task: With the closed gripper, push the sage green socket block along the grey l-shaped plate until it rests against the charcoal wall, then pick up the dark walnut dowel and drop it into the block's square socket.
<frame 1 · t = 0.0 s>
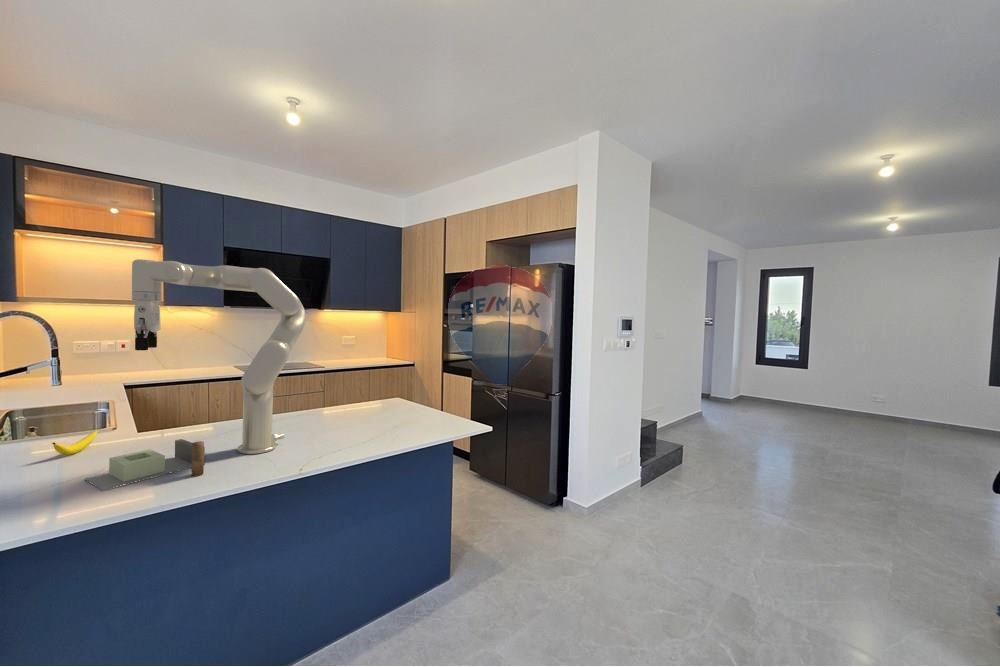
hand: (146, 348, 139), 37 cm above the countertop, tool pointing down, fingers open, 9 cm apart
socket block: (137, 464, 128), point 3 cm above the countertop, slide at 8.0 cm
banana: (76, 452, 144), on the countertop
grey l-shaped plate: (153, 470, 131), on the countertop
dowel: (197, 474, 130), on the countertop
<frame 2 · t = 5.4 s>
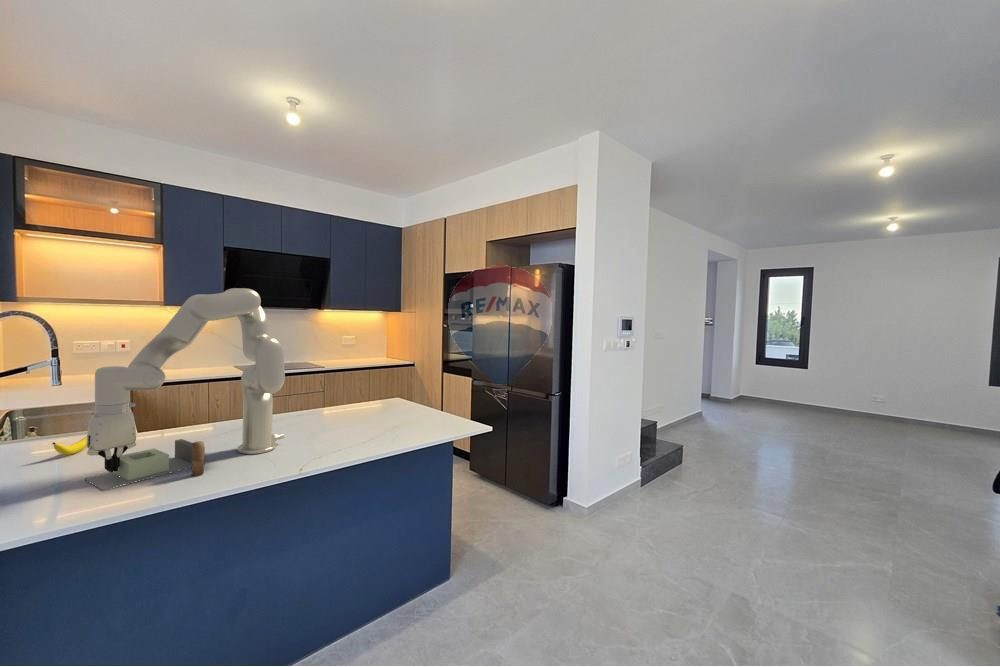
hand: (112, 470, 122), 3 cm above the countertop, tool pointing down, fingers closed
socket block: (142, 463, 129), point 3 cm above the countertop, slide at 6.9 cm, touching gripper
everything else where it was.
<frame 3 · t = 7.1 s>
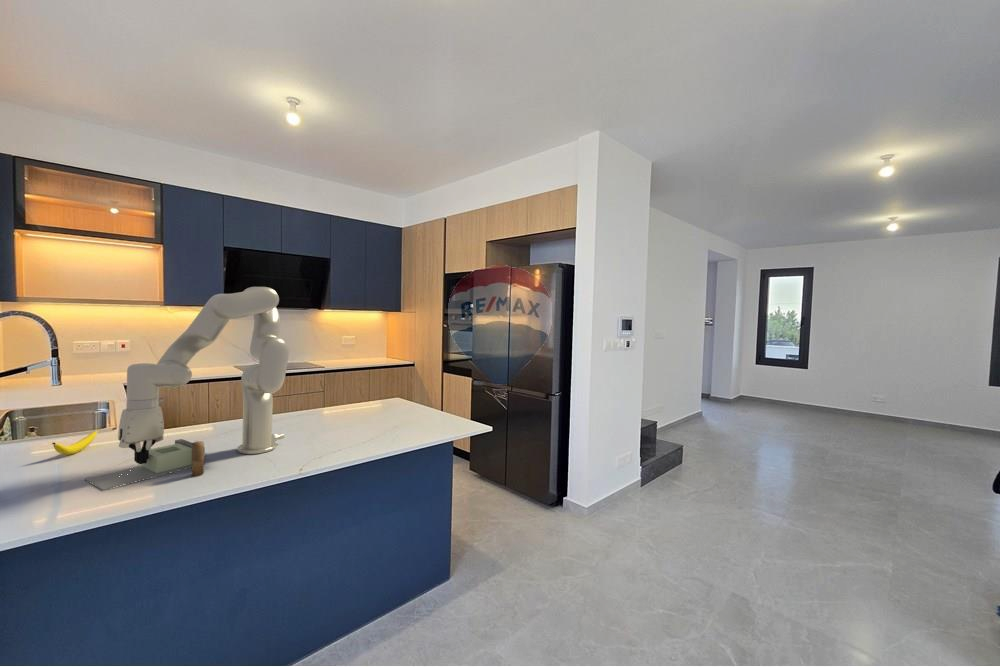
hand: (141, 462, 129), 3 cm above the countertop, tool pointing down, fingers closed
socket block: (168, 457, 135), point 3 cm above the countertop, slide at 0.0 cm, touching gripper, grey l-shaped plate
everything else where it was.
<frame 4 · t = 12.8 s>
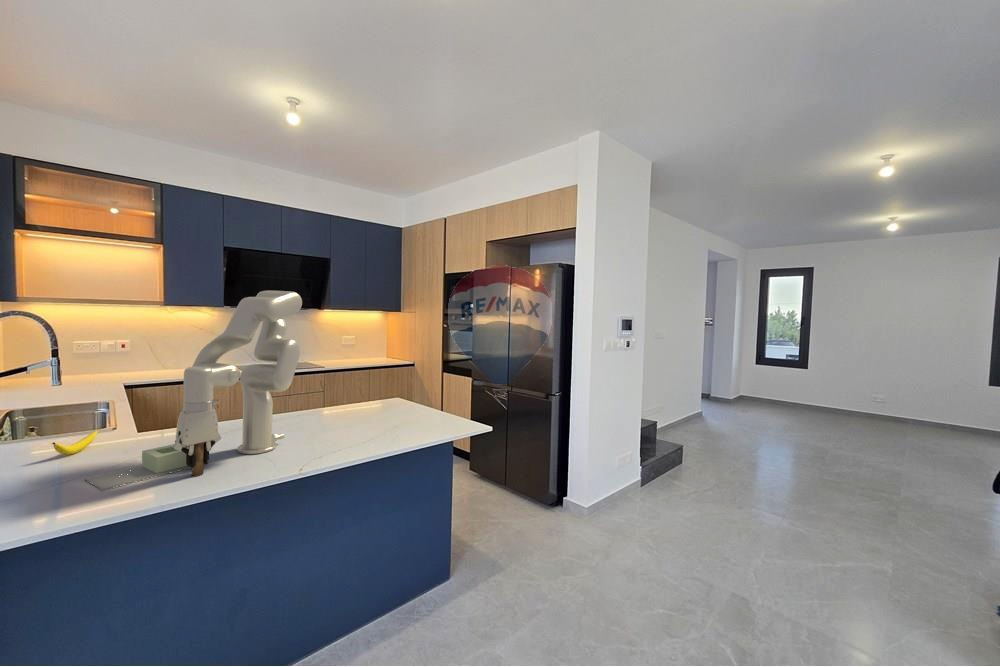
hand: (197, 464, 130), 3 cm above the countertop, tool pointing down, fingers closed on dowel, 3 cm apart
socket block: (168, 457, 135), point 3 cm above the countertop, slide at 0.0 cm, touching grey l-shaped plate
dowel: (197, 474, 130), on the countertop, touching gripper
everything else where it was.
when the fingers open (7 cm above the countertop, at t = 17.7 s): dowel drops 2 cm, resting on socket block.
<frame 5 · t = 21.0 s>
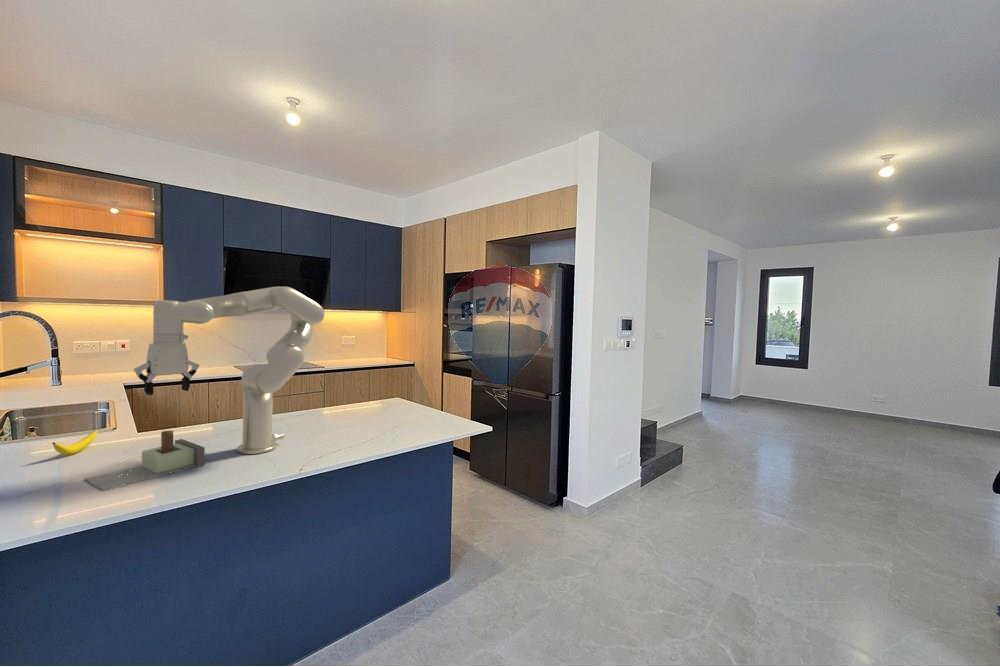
hand: (167, 392, 133), 24 cm above the countertop, tool pointing down, fingers open, 9 cm apart
socket block: (168, 457, 135), point 3 cm above the countertop, slide at 0.0 cm, touching dowel
dowel: (167, 462, 134), point 2 cm above the countertop, touching socket block
everything else where it was.
at the end: socket block slide at 0.0 cm; dowel 0.2 cm off-centre on the socket block, point 1.5 cm above the socket block's base; dowel tilted 0° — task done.
